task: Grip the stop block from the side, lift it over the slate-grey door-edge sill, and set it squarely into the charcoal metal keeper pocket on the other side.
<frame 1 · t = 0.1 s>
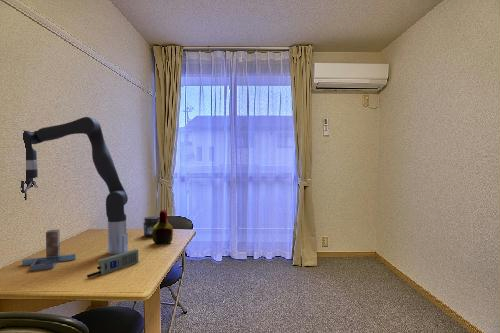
hand: (29, 199, 161), 29 cm above the table, tool pointing down, fingers open, 8 cm apart
supplement container: (151, 235, 201), on the table
keeper: (44, 267, 142), on the table
bottle: (162, 243, 183), on the table
handheld radio: (114, 270, 139), on the table
stop block: (53, 258, 155), on the table
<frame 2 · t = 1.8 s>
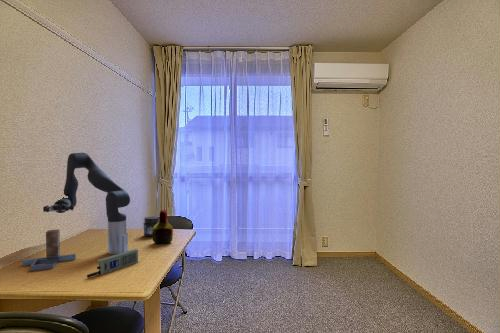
hand: (56, 209, 163), 23 cm above the table, tool horizontal, fingers open, 8 cm apart
nothing on the table moved.
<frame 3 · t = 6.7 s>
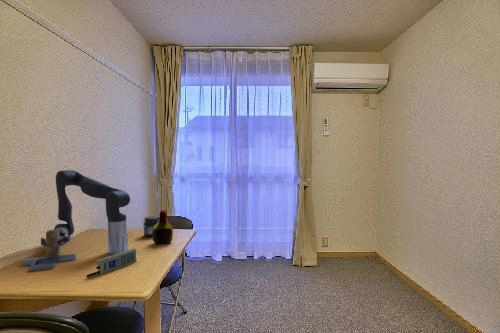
hand: (52, 243, 152), 8 cm above the table, tool horizontal, fingers closed on stop block, 5 cm apart
stop block: (53, 258, 155), on the table, touching gripper
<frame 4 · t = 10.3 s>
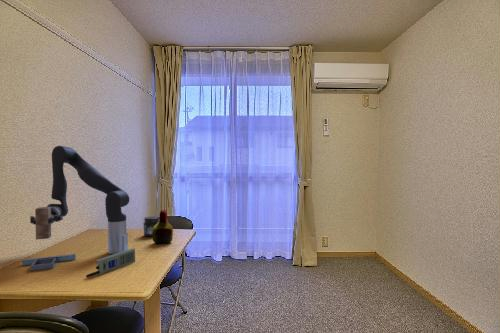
hand: (42, 221, 139), 22 cm above the table, tool horizontal, fingers closed on stop block, 5 cm apart
stop block: (43, 237, 142), point 14 cm above the table, touching gripper
when the fingers open (9 cm above the table, at t = 14.0 s): stop block drops 1 cm, resting in keeper.
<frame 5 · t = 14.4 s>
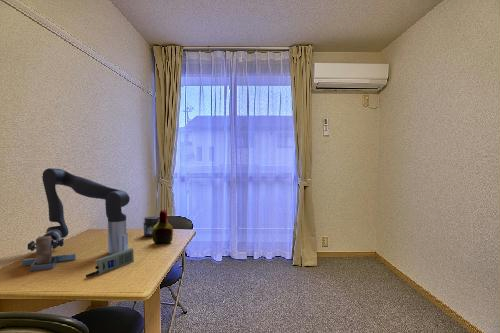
hand: (42, 247, 140), 10 cm above the table, tool horizontal, fingers open, 8 cm apart
stop block: (44, 267, 142), resting in keeper
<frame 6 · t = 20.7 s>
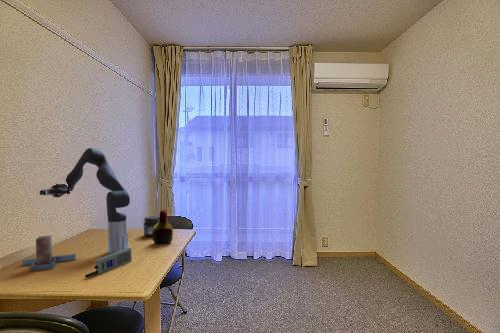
hand: (52, 193, 166), 32 cm above the table, tool horizontal, fingers open, 8 cm apart
at the end: stop block 0.0 cm off-centre on the keeper, point 0.0 cm above the keeper's base; stop block tilted 0°; the gripper is holding nothing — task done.
